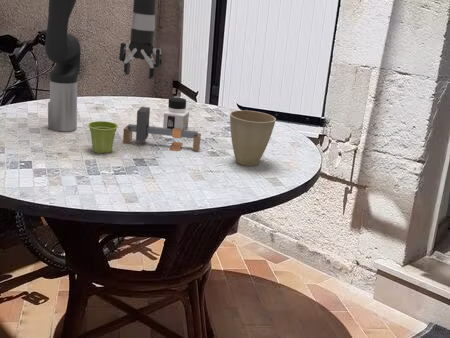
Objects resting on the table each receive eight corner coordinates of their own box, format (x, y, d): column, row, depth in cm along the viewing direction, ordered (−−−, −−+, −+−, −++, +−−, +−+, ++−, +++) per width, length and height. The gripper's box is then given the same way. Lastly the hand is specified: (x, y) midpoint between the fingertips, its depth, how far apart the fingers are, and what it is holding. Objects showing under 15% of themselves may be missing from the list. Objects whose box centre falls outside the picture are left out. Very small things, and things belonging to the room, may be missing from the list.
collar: (135, 140, 190) (137, 111, 187) (139, 135, 197) (141, 106, 194) (144, 141, 190) (146, 112, 187) (148, 136, 197) (149, 107, 194)
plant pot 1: (122, 149, 185) (123, 124, 182) (107, 157, 177) (108, 130, 174) (97, 144, 188) (98, 119, 185) (81, 151, 179) (82, 125, 177)
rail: (121, 144, 190) (122, 126, 188) (127, 137, 199) (128, 120, 197) (197, 153, 190) (199, 135, 187) (200, 145, 198) (201, 128, 196)
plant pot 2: (255, 173, 176) (262, 124, 171) (216, 161, 183) (221, 114, 178) (277, 163, 188) (283, 117, 183) (239, 152, 195) (244, 107, 190)
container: (182, 135, 208) (184, 101, 203) (162, 132, 209) (164, 98, 205) (187, 130, 215) (190, 97, 211) (168, 127, 216) (170, 94, 212)
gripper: (117, 25, 181) (114, 74, 186) (159, 31, 178) (154, 82, 184) (127, 23, 188) (124, 71, 193) (167, 30, 185) (162, 78, 191)
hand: (139, 76), depth 189 cm, fingers open, 8 cm apart
